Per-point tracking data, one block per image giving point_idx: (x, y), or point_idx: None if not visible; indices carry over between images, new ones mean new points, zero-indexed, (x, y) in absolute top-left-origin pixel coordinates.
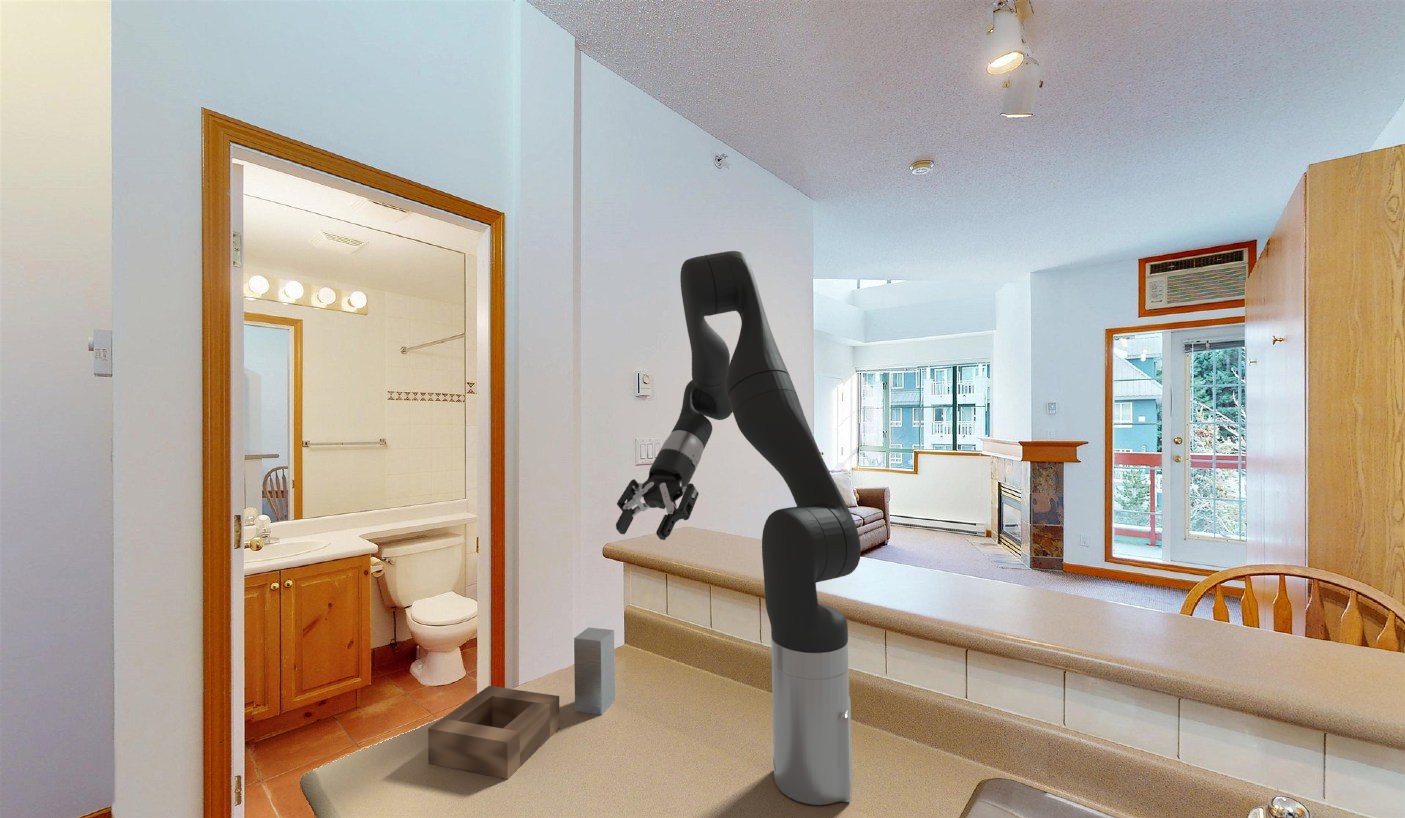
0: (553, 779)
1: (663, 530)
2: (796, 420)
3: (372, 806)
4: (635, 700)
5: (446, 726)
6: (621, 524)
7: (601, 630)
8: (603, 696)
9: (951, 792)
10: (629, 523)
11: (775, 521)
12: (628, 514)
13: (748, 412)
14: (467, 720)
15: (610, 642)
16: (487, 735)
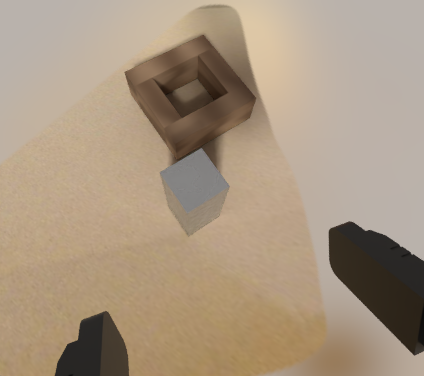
0: (103, 122)
1: (74, 348)
2: None
3: (175, 24)
4: (172, 259)
5: (194, 45)
6: (346, 243)
7: (200, 196)
8: (169, 204)
9: None
10: (375, 309)
11: None
12: (405, 303)
13: None
14: (205, 69)
15: (179, 205)
16: (150, 64)
